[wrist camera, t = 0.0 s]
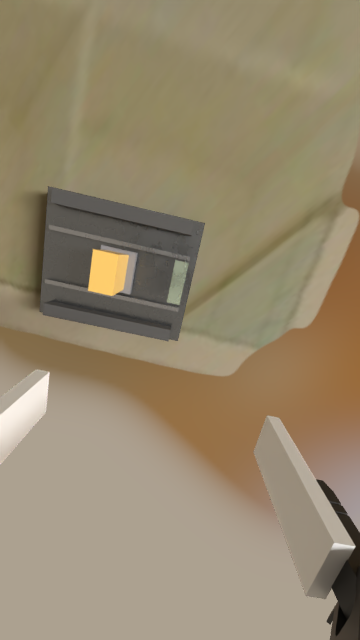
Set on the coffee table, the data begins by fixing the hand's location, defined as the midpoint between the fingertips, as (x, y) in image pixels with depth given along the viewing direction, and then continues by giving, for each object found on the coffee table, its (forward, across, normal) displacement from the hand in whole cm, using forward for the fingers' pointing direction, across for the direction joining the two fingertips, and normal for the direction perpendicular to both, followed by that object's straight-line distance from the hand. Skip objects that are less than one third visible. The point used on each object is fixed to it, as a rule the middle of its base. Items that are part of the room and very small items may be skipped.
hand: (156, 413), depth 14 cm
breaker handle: (+23, -9, +5) cm, 26 cm away
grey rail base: (+28, -9, +5) cm, 30 cm away
